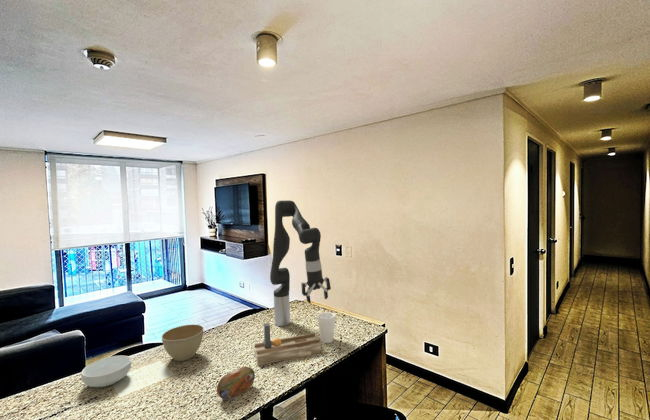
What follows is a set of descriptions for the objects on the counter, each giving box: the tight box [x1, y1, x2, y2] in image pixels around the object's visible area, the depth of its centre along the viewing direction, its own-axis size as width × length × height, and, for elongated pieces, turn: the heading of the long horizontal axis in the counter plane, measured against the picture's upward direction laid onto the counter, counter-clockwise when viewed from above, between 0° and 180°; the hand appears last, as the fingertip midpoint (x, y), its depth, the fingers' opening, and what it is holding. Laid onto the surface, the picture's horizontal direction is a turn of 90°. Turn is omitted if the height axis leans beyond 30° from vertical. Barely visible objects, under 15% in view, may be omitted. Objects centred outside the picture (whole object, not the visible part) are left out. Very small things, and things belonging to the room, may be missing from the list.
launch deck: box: [253, 332, 322, 366], centre depth 146 cm, size 12×30×6 cm, turn 110°
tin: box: [216, 366, 256, 401], centre depth 116 cm, size 15×3×8 cm, turn 138°
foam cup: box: [316, 311, 336, 344], centre depth 158 cm, size 10×9×13 cm
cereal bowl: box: [80, 354, 132, 388], centre depth 126 cm, size 17×17×7 cm
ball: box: [272, 337, 281, 347], centre depth 144 cm, size 4×4×4 cm
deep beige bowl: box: [161, 324, 204, 362], centre depth 145 cm, size 18×18×12 cm
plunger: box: [263, 322, 272, 349], centre depth 142 cm, size 4×3×11 cm
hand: (317, 300), depth 150 cm, fingers open, 8 cm apart
